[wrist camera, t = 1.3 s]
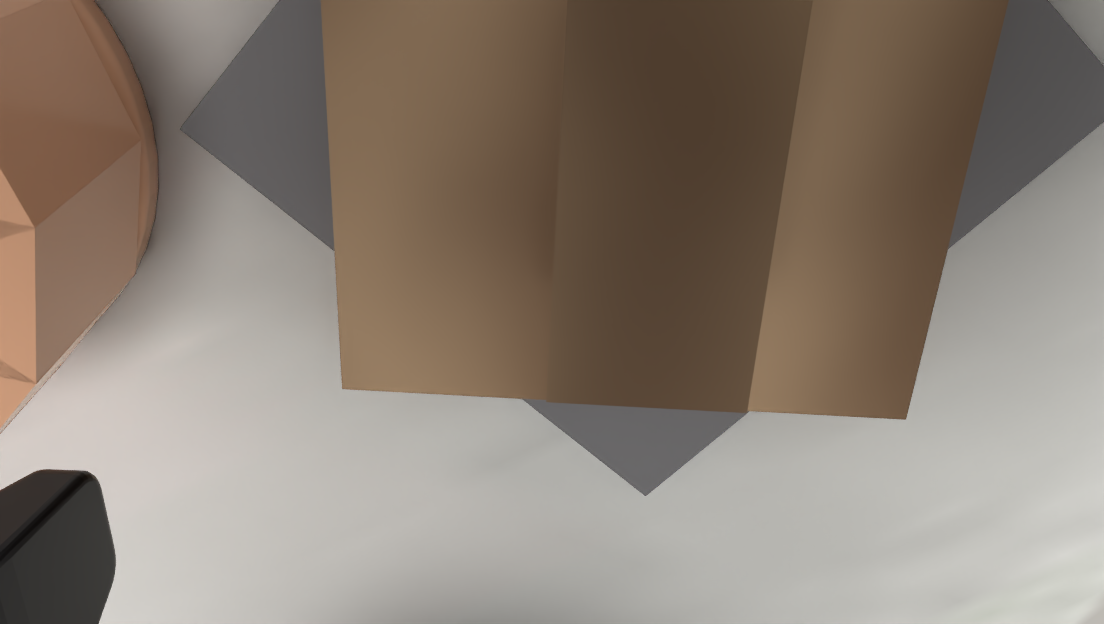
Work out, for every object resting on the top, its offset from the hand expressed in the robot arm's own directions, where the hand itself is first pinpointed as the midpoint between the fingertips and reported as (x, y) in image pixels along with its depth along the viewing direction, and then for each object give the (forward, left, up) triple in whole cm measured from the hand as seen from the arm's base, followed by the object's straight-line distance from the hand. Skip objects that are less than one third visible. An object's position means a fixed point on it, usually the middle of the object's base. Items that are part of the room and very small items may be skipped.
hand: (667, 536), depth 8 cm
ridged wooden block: (0, 0, -12) cm, 12 cm away
